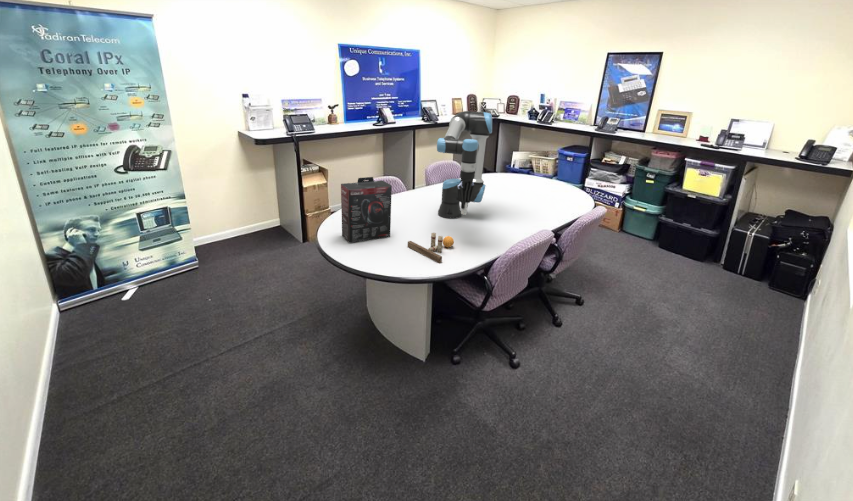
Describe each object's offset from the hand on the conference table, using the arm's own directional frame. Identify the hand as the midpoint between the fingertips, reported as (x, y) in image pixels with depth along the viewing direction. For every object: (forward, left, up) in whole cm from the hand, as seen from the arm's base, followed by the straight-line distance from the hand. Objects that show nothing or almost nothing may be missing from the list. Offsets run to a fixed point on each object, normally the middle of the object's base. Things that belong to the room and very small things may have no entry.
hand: (463, 213), depth 222 cm
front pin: (+15, 0, -15) cm, 22 cm away
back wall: (+28, 0, -16) cm, 32 cm away
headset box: (+38, -36, -17) cm, 55 cm away
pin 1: (+19, -3, -16) cm, 25 cm away
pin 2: (+19, +3, -16) cm, 25 cm away
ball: (+11, +1, -13) cm, 17 cm away
